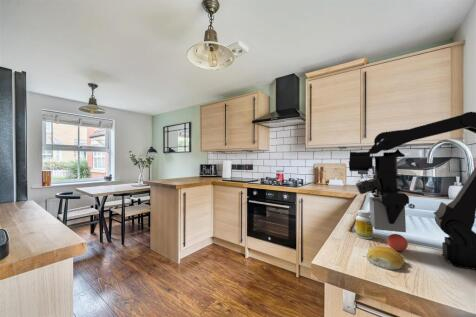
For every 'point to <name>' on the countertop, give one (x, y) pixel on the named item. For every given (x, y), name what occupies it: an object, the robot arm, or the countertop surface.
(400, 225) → the gray block
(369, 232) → the supplement bottle
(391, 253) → the bread roll
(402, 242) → the ball
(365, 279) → the countertop surface
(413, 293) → the countertop surface
